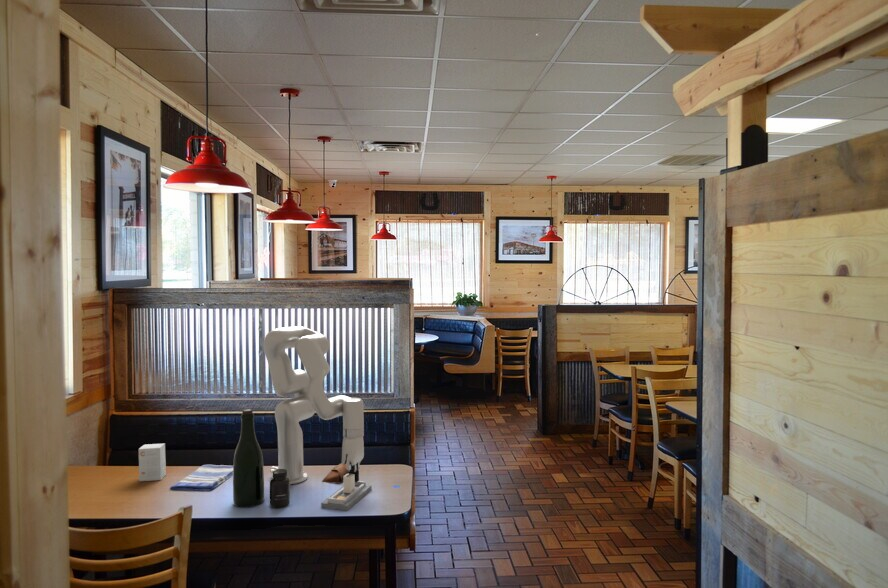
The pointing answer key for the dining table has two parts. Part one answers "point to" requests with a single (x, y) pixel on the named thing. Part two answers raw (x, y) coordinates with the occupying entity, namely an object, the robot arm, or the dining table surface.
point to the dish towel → (205, 478)
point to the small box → (152, 462)
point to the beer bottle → (248, 466)
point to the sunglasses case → (336, 474)
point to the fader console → (346, 497)
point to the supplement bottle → (279, 489)
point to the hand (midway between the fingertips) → (354, 481)
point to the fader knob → (349, 483)
